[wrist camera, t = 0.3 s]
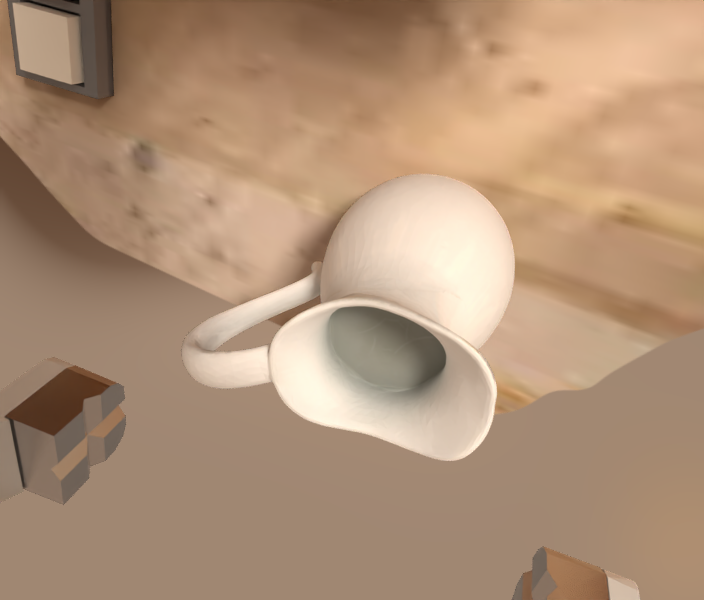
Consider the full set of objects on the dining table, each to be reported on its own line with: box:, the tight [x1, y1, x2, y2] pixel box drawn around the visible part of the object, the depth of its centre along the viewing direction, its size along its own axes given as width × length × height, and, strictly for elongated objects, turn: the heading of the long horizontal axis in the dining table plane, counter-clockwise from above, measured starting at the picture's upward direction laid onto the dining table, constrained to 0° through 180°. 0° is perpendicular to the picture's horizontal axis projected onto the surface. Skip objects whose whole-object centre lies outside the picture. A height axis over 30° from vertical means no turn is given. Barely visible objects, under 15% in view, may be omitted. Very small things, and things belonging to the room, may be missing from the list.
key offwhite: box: [13, 2, 84, 85], centre depth 57 cm, size 6×6×2 cm
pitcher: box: [181, 174, 515, 461], centre depth 47 cm, size 24×17×28 cm
